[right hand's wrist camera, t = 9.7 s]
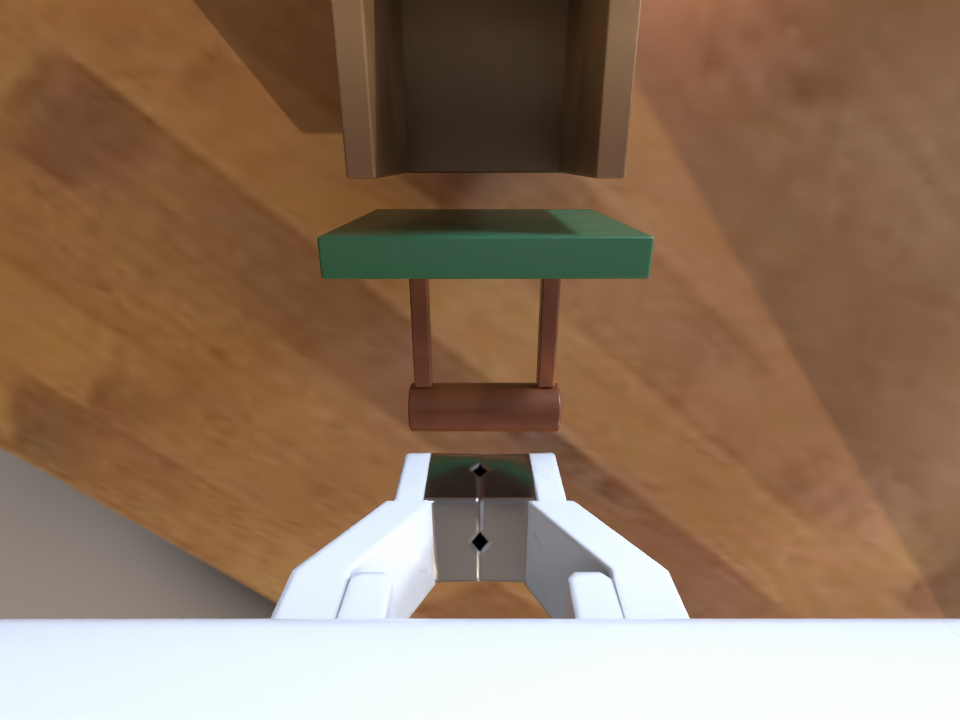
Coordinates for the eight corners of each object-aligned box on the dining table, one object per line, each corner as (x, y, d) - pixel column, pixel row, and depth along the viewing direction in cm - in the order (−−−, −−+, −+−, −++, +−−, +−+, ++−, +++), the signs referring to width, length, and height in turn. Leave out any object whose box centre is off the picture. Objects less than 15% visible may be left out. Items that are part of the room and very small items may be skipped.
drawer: (580, 367, 25) (627, 464, 17) (386, 367, 25) (342, 464, 17) (635, -350, 16) (786, -848, 8) (334, -348, 16) (191, -844, 8)
